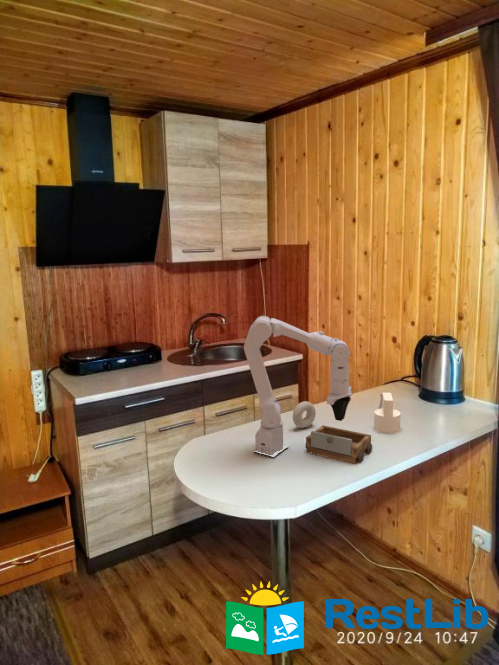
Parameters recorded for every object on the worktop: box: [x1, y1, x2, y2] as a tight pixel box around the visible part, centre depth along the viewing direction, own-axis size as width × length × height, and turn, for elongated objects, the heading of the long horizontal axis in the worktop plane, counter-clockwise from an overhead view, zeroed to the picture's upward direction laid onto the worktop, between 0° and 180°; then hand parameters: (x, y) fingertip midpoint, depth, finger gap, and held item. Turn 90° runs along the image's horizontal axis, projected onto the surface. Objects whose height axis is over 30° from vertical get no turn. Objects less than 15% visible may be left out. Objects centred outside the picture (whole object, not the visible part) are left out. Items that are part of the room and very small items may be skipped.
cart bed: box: [305, 425, 373, 465], centre depth 155 cm, size 12×19×5 cm, turn 55°
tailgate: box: [310, 430, 352, 456], centre depth 150 cm, size 2×14×5 cm, turn 55°
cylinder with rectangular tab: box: [373, 392, 401, 434], centre depth 171 cm, size 9×9×12 cm
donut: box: [292, 400, 317, 429], centre depth 175 cm, size 10×4×10 cm, turn 124°
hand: (339, 419), depth 154 cm, fingers closed
